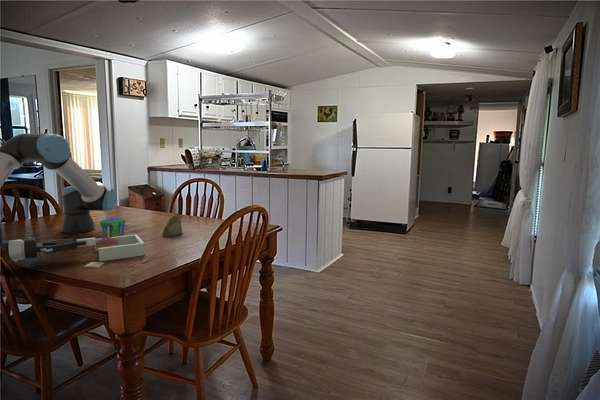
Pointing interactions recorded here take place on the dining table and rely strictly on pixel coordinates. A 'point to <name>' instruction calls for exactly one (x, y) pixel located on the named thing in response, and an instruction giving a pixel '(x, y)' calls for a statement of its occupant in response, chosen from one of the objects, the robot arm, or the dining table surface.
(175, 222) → the rock
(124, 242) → the tray
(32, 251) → the robot arm
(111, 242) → the cupcake
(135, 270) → the dining table surface
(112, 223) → the snack cup
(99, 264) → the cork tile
